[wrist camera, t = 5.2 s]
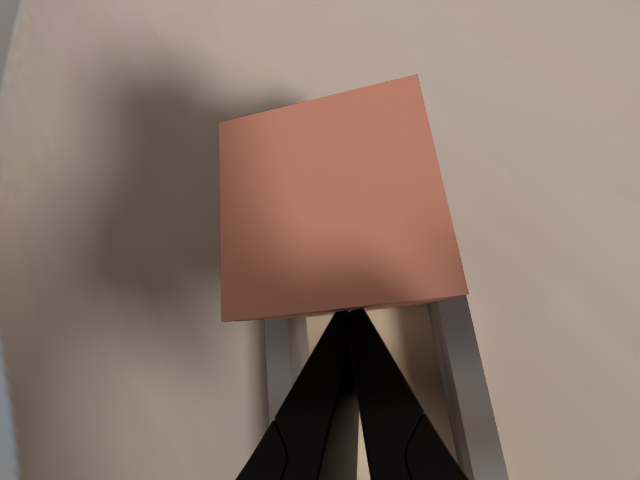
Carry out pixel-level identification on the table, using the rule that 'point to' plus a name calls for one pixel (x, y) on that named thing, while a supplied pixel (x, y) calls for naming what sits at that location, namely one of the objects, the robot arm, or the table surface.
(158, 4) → the table surface
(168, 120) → the table surface
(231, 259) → the brick-red block
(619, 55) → the table surface
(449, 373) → the chute
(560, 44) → the table surface
